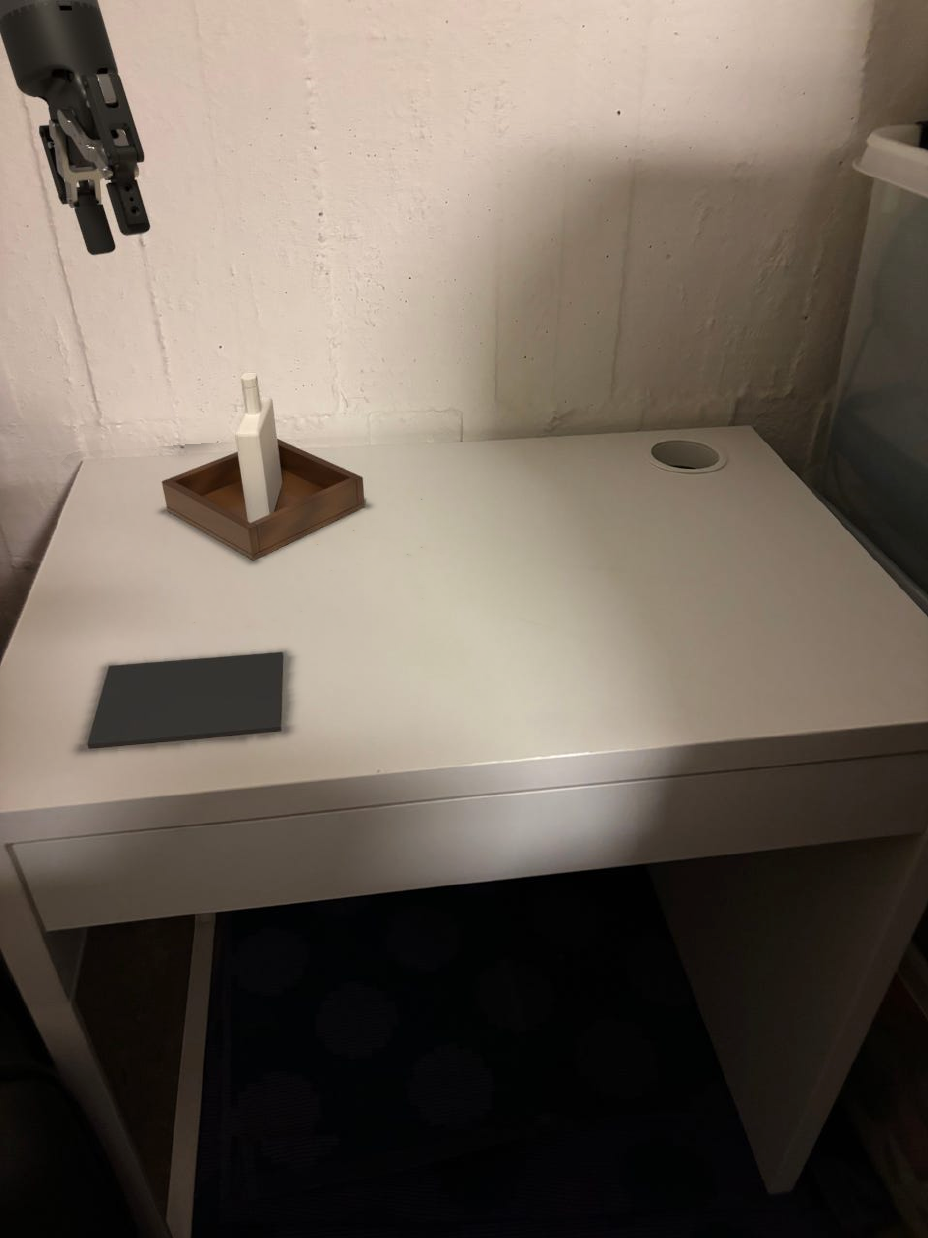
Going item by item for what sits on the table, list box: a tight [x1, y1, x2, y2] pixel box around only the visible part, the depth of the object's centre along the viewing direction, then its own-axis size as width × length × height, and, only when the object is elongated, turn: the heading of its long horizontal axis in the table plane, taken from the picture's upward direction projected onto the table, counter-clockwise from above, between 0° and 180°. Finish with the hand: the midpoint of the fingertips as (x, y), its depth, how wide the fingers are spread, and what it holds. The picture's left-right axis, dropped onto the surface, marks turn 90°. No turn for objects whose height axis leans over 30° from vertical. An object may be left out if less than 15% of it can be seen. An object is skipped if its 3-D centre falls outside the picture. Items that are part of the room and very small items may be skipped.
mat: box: [87, 651, 284, 749], centre depth 62 cm, size 12×8×1 cm, turn 98°
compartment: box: [161, 438, 366, 561], centre depth 83 cm, size 13×13×3 cm
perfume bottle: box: [234, 372, 282, 523], centre depth 80 cm, size 8×2×12 cm, turn 1°
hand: (119, 243), depth 74 cm, fingers open, 8 cm apart
